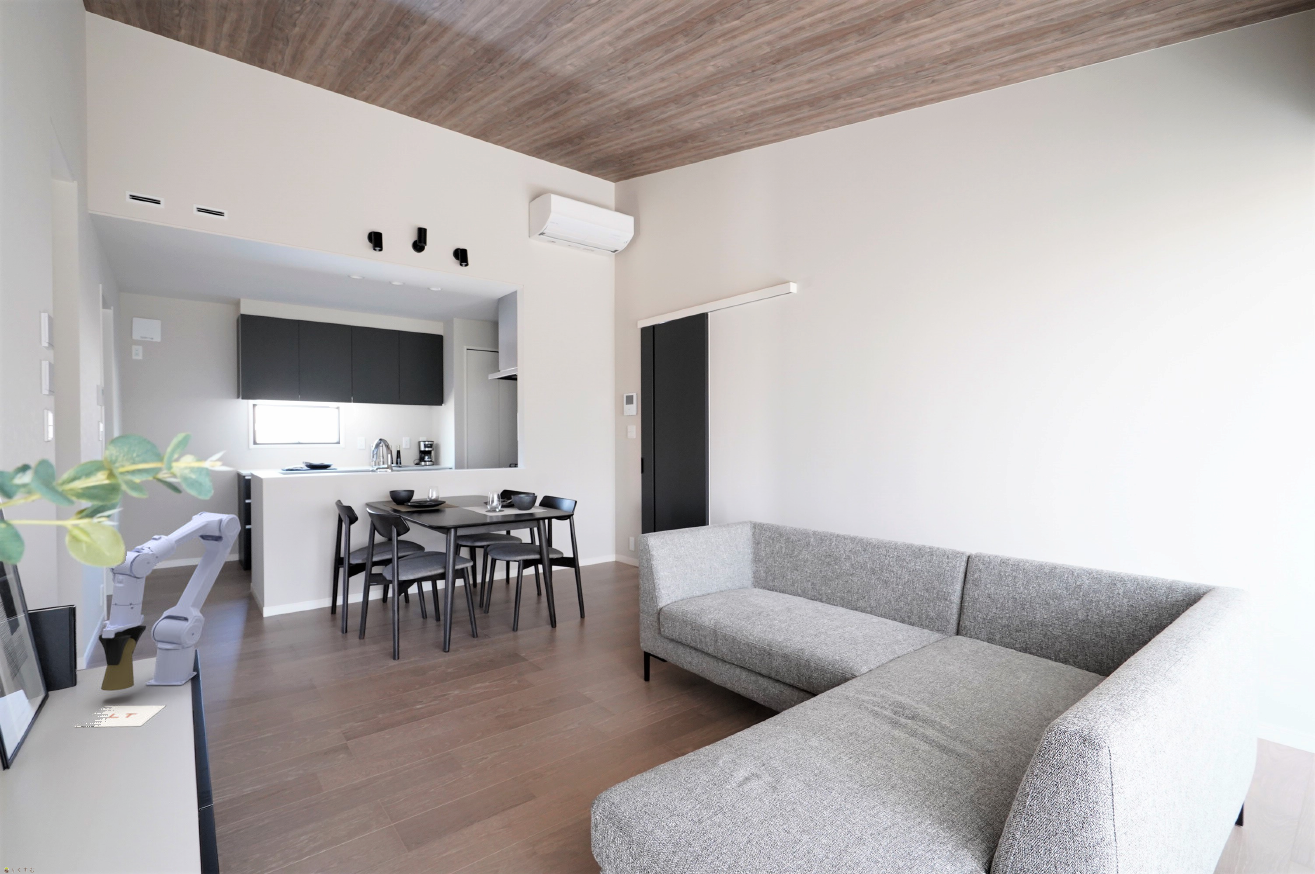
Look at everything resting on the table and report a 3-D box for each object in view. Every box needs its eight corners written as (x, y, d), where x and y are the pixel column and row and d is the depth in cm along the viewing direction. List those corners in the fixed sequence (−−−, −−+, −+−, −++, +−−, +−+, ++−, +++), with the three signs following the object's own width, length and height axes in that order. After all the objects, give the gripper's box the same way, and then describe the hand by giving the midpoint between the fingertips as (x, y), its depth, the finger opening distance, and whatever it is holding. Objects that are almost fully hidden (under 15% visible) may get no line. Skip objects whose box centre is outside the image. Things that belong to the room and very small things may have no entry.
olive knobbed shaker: (118, 691, 151) (124, 642, 152) (93, 689, 151) (99, 641, 152) (140, 683, 157) (145, 636, 158) (116, 681, 157) (121, 634, 158)
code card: (105, 706, 150) (105, 705, 150) (165, 706, 153) (165, 705, 153) (74, 727, 139) (74, 726, 139) (140, 726, 142) (140, 725, 142)
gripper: (123, 596, 161) (115, 652, 160) (89, 609, 147) (81, 670, 147) (156, 597, 163) (149, 652, 162) (126, 610, 149) (118, 670, 148)
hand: (119, 661), depth 155 cm, fingers closed on olive knobbed shaker, 5 cm apart
